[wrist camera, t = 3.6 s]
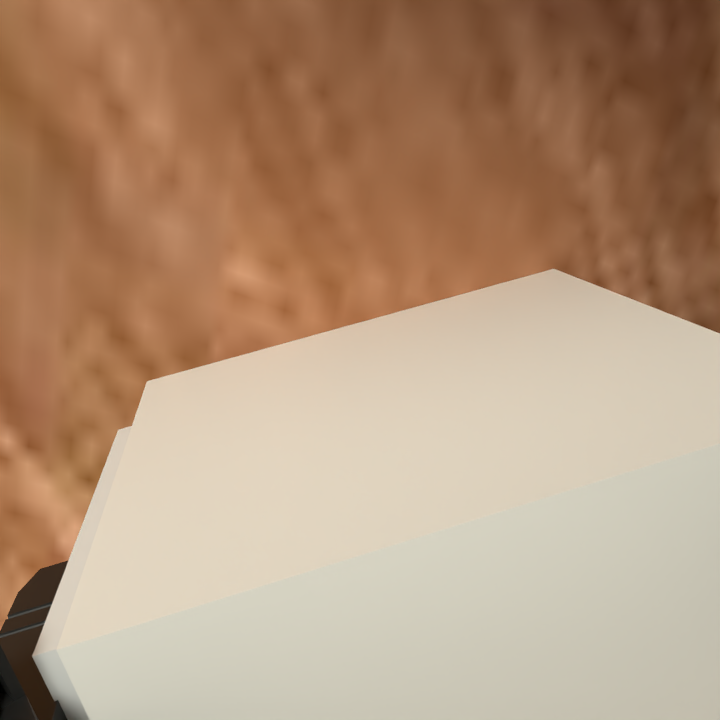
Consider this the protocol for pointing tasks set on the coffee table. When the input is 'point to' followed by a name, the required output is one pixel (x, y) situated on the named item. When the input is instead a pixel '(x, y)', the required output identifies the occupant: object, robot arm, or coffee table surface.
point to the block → (420, 523)
